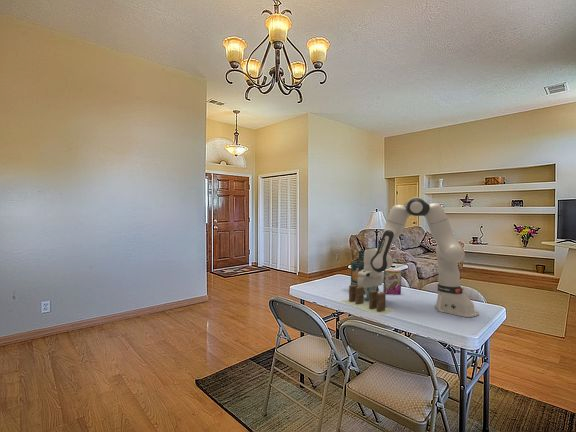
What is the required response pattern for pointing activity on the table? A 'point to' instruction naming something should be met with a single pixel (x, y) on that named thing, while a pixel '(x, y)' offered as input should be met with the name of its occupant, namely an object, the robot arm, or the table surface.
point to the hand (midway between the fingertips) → (370, 293)
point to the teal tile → (368, 291)
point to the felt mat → (367, 307)
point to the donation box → (358, 269)
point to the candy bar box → (392, 282)
